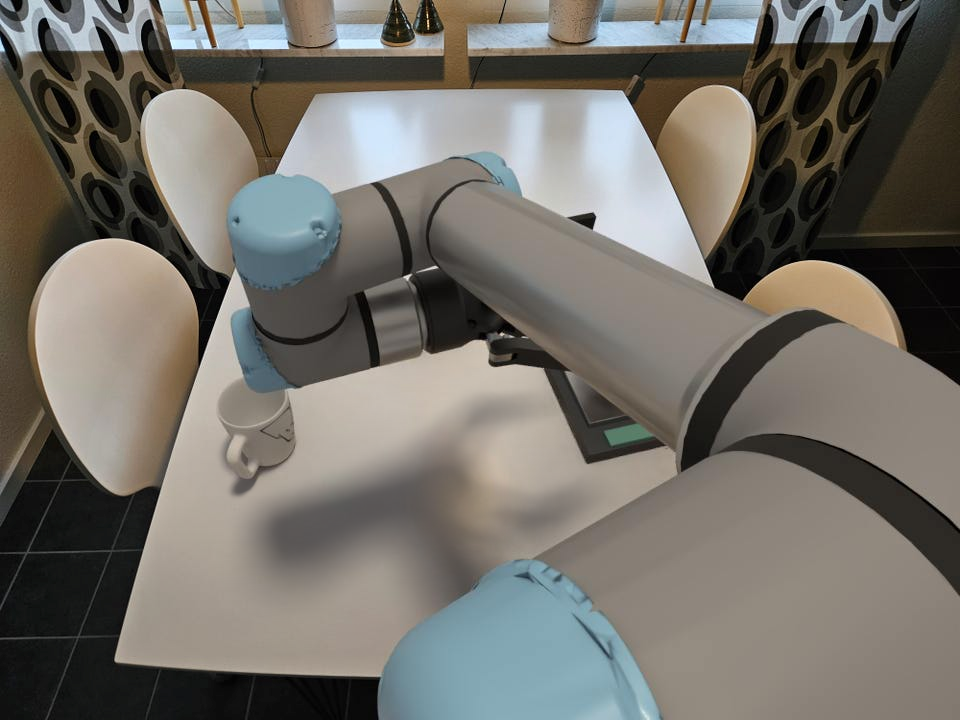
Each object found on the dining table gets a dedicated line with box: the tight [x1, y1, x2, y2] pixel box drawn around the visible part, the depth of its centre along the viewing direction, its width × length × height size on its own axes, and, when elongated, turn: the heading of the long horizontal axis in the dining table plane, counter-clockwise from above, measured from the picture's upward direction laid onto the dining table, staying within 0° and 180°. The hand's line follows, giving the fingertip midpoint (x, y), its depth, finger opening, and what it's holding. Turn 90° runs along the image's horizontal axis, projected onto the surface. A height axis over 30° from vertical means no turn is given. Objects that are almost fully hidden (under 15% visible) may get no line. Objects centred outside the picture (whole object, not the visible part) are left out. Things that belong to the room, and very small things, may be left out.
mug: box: [215, 376, 296, 480], centre depth 80 cm, size 11×8×10 cm
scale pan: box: [562, 371, 631, 428], centre depth 90 cm, size 13×13×1 cm
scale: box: [543, 368, 666, 464], centre depth 90 cm, size 18×16×3 cm
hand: (622, 268), depth 64 cm, fingers open, 13 cm apart
